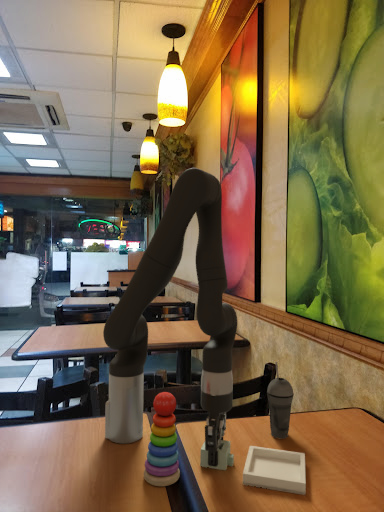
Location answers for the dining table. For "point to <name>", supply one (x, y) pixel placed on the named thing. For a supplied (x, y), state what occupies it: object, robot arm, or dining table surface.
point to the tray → (275, 470)
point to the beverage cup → (279, 405)
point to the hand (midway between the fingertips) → (215, 458)
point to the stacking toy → (162, 444)
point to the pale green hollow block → (223, 456)
